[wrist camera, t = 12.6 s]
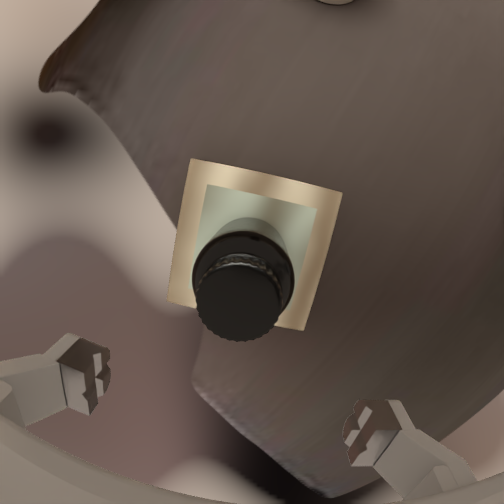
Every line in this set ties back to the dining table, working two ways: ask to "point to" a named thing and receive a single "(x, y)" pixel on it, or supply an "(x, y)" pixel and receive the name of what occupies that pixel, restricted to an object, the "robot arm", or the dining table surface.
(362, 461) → the robot arm
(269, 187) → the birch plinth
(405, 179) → the dining table surface
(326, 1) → the coffee cup
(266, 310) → the supplement bottle
